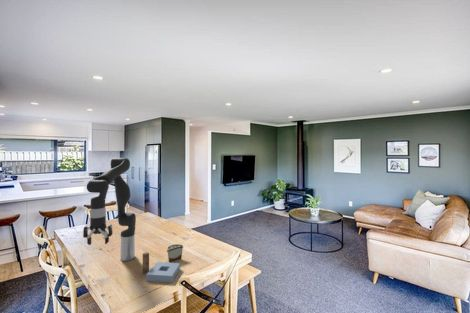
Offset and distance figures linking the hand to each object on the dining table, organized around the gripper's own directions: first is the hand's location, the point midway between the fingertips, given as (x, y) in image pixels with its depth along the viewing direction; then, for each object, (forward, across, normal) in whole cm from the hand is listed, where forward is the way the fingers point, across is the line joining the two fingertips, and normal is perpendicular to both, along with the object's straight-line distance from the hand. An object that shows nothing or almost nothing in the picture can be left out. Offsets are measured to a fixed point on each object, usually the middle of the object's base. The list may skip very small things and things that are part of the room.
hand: (98, 244), depth 130 cm
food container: (+27, -39, -32) cm, 57 cm away
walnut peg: (+27, -22, -16) cm, 38 cm away
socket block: (+27, -34, -11) cm, 45 cm away
